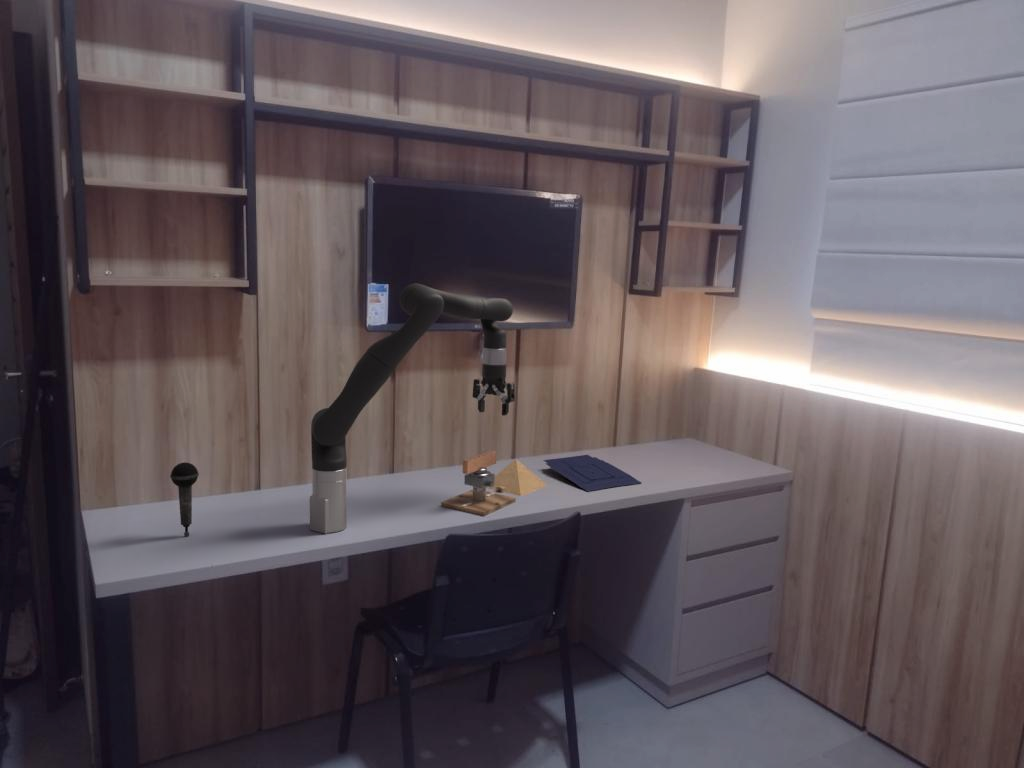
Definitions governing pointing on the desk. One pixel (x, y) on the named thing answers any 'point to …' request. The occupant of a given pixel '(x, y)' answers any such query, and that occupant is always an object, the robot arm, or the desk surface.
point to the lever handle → (479, 470)
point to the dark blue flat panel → (591, 472)
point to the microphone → (185, 490)
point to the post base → (478, 501)
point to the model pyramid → (516, 480)
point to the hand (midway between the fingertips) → (492, 413)
